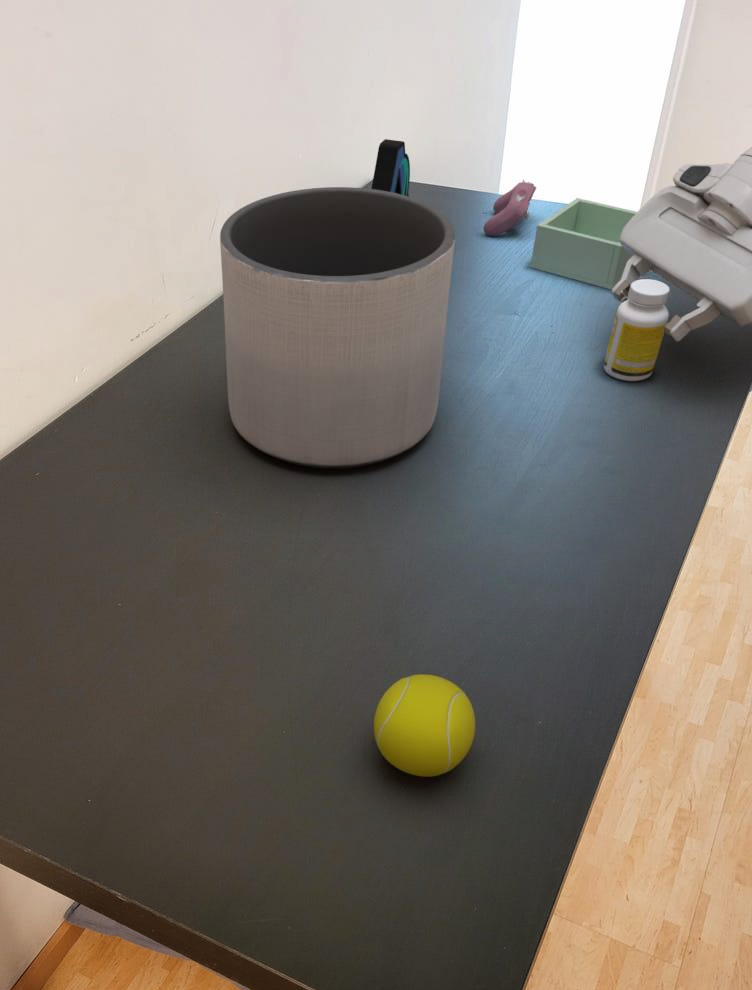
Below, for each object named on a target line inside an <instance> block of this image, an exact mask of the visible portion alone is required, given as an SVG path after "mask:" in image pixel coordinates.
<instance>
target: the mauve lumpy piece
mask: <svg viewBox="0 0 752 990" xmlns="http://www.w3.org/2000/svg"><path fill="white" fill-rule="evenodd" d="M536 190H537V187H536V186H535V184H534V183H532V182H530V181H527V182H526V181H525V179H523V180H522V181H521V182H518V183H517V184H516V185H515V186H514V187H512V189H510V190H509V191H507V192H505V193H504V194H502V195H500V196H499V197H498V198H497V199H496V200H495V202H494V203H493V206H492V210H493V212H494V213H495V215H493V216H492V217H490V218H489V219H488V220H487V221H486V222H485V224H484V225H483V232H484V234H485V235H486V236H488V237H489V236H490V237H492V236H499V235H502V234H504V233H505V232H507V231H509V232H511V231H512V230H513V229H514V228H515V227H516V226H517V225H518V224H519V222H521V221H522V220H523V221H527V219H528V218H529V216H530V212H528V210H529V207H530V205H531V202H530V201H531V200H532V198H533V196H534V194H535V192H536Z"/></svg>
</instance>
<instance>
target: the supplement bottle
mask: <svg viewBox="0 0 752 990" xmlns="http://www.w3.org/2000/svg"><path fill="white" fill-rule="evenodd" d="M669 293H670V287H669V285H667V284H666V283H664V282H662V281H660V280H657V279H651V278H643V279H637V280H636V281H634V282H633V283H632V284H631V286H630V289H629V293H628V300H626V301H624V302H623V303H621V302H620V303H619V304H620V305H619V306H618V307H617V310H616V313H615V317H614V322H613V325H612V328H611V333H610V337H609V340H608V343H607V350H606V352H605V357H604V361H603V370H604V371H605V373H606V374H608V375H609V376H610V377H612V378H614V379H617V380H620V381H624V382H638V381H643V380H646V379H648V378H649V377H650V376H651V375H652V373H653V372H654V369H655V366H656V361H657V359H658V354H659V352H660V348H661V345H662V341H663V337H664V334H665V330H664V327H665V325H666V324H667V323H668V321H669V317H670V316H669V315H670V314H669V313H670V312H669V310H668V307H666V303H667V301H668V297H669Z"/></svg>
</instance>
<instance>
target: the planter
mask: <svg viewBox="0 0 752 990" xmlns="http://www.w3.org/2000/svg"><path fill="white" fill-rule="evenodd" d="M454 227H455V226H454V225H453V223H452V221H451V220H450V219H449V218H448V217H447V215H446V214H444V213H443V212H442V211H440V210H439V209H438V208H436V207H434V206H432V205H430V204H429V203H426V202H425V201H423V200H419V199H417V198H415V197H411V196H409V197H408V196H405V195H401V194H397V193H392V192H387V191H382V190H375V189H371V188H365V187H352V186H351V187H350V186H331V187H329V186H327V187H314V188H313V187H312V188H303V189H297V190H290V191H286V192H281V193H277V194H274V195H270V196H267V197H263V198H260V199H257V200H255V201H253V202H250V203H249V204H246V205H245V206H243V207H241V208H239V209H238V210H236V211H235V212H234V213H232V214H231V215H230V216H229V217H228V218H227V219H226V220H225V221H224V223H223V224H222V226H221V229H220V234H219V245H220V262H221V279H222V294H223V295H222V296H223V297H222V298H223V317H224V318H223V319H224V335H225V336H224V340H225V363H226V385H227V386H226V387H227V401H228V402H227V403H228V409H229V414H230V419H231V422H232V425H233V427H234V429H235V430H236V431H237V433H238V434H239V435H240V436H241V437H242V439H244V441H246V442H247V443H248V444H250V445H251V446H252V447H254V448H256V450H258V451H260V452H262V453H264V454H266V455H268V456H270V457H273V458H275V459H278V460H281V461H283V462H285V463H289V464H292V465H297V466H302V467H307V468H308V467H309V468H315V469H352V468H359V467H364V466H369V465H373V464H377V463H381V462H384V461H387V460H389V459H392V458H394V457H397V456H399V455H401V454H404V453H405V452H406V451H408V450H410V449H412V448H414V446H416V445H417V444H418V443H420V442H421V441H422V440H423V439H424V438H425V437H426V436H427V435H428V433H429V432H430V431H431V429H432V428H433V425H434V423H435V420H436V417H437V412H438V407H439V399H440V390H441V380H442V372H443V371H442V370H443V361H444V359H443V358H444V349H445V339H446V327H447V319H448V310H449V309H448V307H449V296H450V288H451V279H452V270H453V269H452V268H453V260H454V251H455V243H456V241H455V240H456V232H455V228H454Z"/></svg>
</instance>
